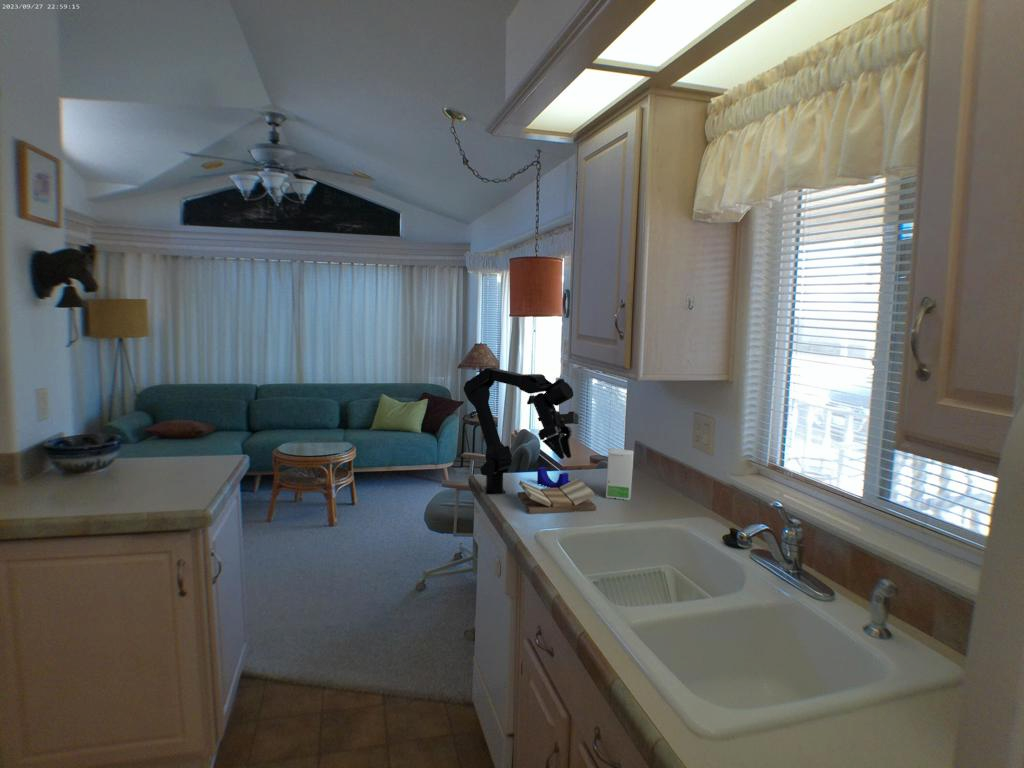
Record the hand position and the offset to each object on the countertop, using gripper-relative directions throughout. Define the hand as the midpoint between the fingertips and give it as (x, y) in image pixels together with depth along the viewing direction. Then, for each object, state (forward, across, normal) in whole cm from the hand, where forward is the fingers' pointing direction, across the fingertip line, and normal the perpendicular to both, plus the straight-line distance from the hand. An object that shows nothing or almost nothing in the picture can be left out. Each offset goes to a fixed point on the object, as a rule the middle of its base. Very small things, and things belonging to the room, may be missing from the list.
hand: (566, 458), depth 185 cm
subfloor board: (+11, +8, +11) cm, 17 cm away
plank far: (+11, +11, +4) cm, 16 cm away
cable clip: (+6, +26, +14) cm, 30 cm away
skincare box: (+17, +23, -6) cm, 29 cm away
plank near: (+6, +3, +15) cm, 17 cm away
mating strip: (+10, +7, +10) cm, 16 cm away
